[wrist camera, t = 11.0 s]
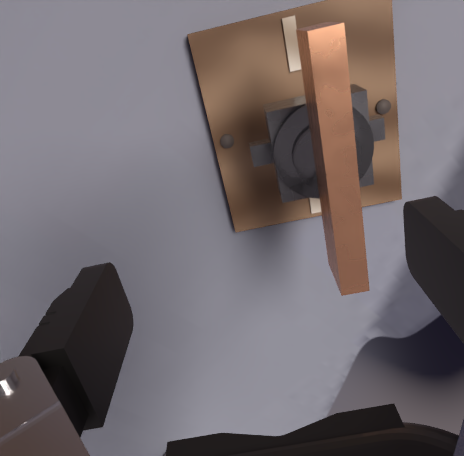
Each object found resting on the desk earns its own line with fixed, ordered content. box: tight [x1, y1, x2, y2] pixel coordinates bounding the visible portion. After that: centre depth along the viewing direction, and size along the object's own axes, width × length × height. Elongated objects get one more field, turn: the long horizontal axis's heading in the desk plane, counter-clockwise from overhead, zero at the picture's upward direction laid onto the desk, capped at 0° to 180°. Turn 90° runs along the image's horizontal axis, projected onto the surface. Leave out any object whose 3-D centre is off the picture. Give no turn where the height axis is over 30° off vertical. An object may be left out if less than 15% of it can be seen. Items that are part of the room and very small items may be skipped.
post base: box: [188, 0, 402, 232], centre depth 34 cm, size 18×16×9 cm
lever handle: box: [249, 22, 385, 295], centre depth 28 cm, size 10×16×9 cm, turn 12°
